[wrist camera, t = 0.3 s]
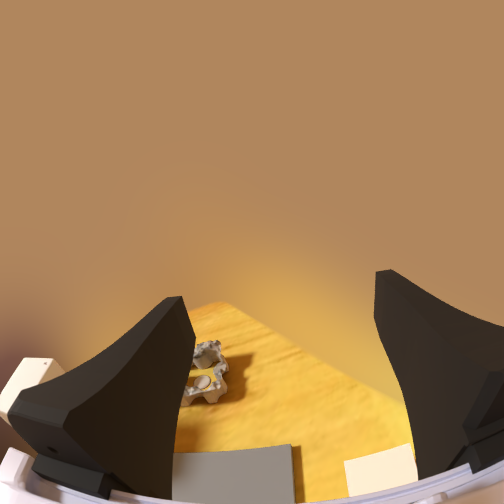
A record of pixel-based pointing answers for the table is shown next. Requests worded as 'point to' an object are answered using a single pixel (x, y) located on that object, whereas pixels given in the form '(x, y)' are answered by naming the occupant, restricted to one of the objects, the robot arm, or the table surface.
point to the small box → (27, 380)
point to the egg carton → (204, 359)
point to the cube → (381, 471)
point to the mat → (235, 476)
